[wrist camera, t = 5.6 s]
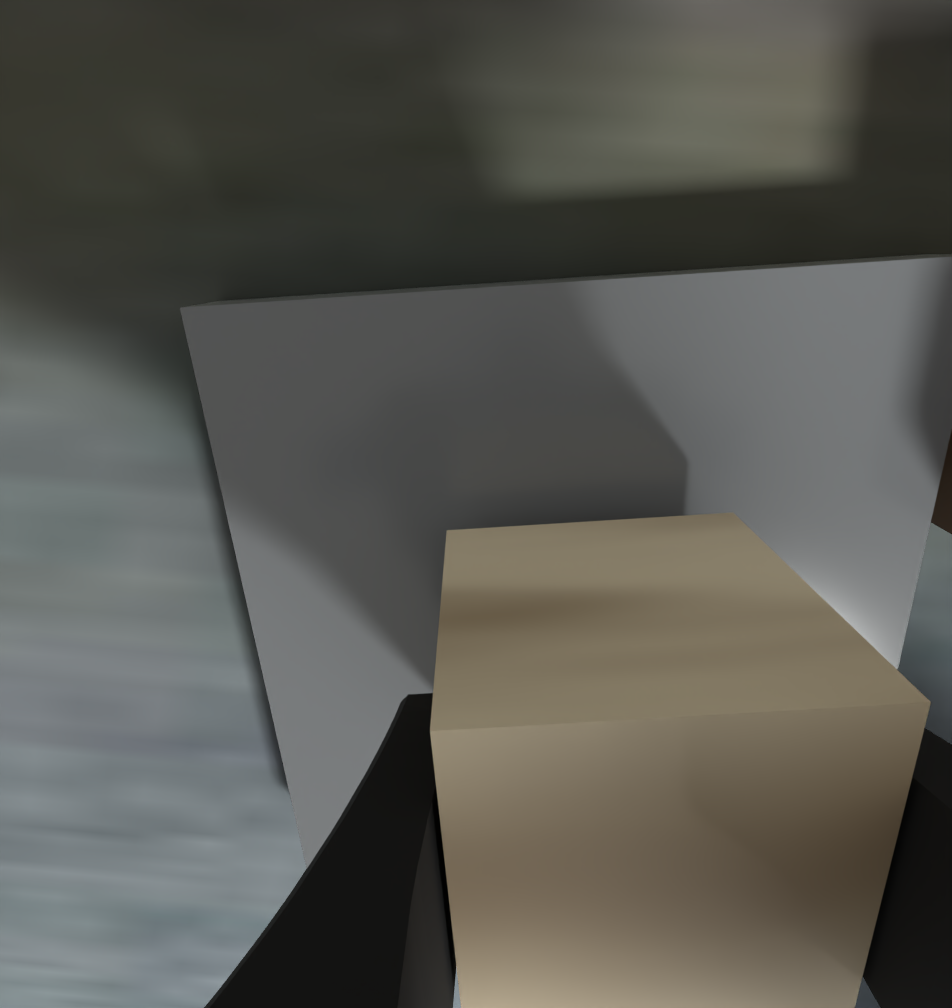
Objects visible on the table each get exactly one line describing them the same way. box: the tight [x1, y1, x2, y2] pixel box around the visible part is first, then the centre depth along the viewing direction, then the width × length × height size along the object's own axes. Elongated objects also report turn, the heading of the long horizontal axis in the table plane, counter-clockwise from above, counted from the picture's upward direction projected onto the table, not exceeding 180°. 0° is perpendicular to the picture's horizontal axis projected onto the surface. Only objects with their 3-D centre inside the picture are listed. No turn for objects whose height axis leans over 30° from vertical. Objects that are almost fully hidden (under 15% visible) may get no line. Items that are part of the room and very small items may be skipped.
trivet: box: [180, 254, 952, 868], centre depth 12 cm, size 12×12×2 cm
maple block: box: [430, 513, 931, 1008], centre depth 9 cm, size 4×4×4 cm
